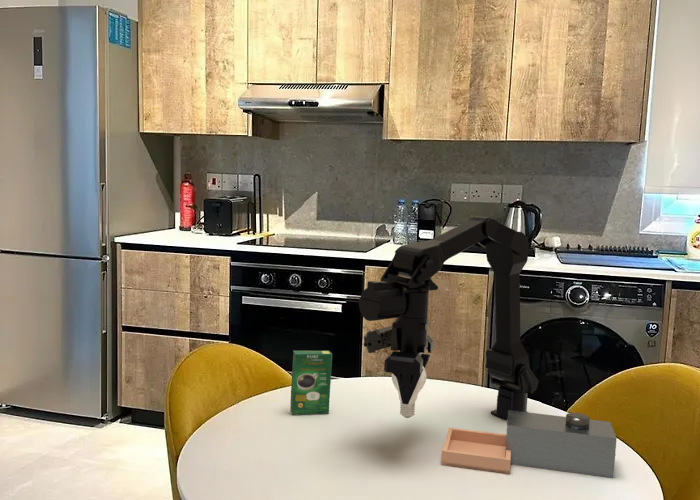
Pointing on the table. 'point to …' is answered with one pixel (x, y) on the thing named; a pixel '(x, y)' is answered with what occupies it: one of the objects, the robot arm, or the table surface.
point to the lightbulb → (408, 409)
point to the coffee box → (311, 382)
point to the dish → (476, 450)
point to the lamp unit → (561, 443)
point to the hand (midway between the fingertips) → (408, 398)
